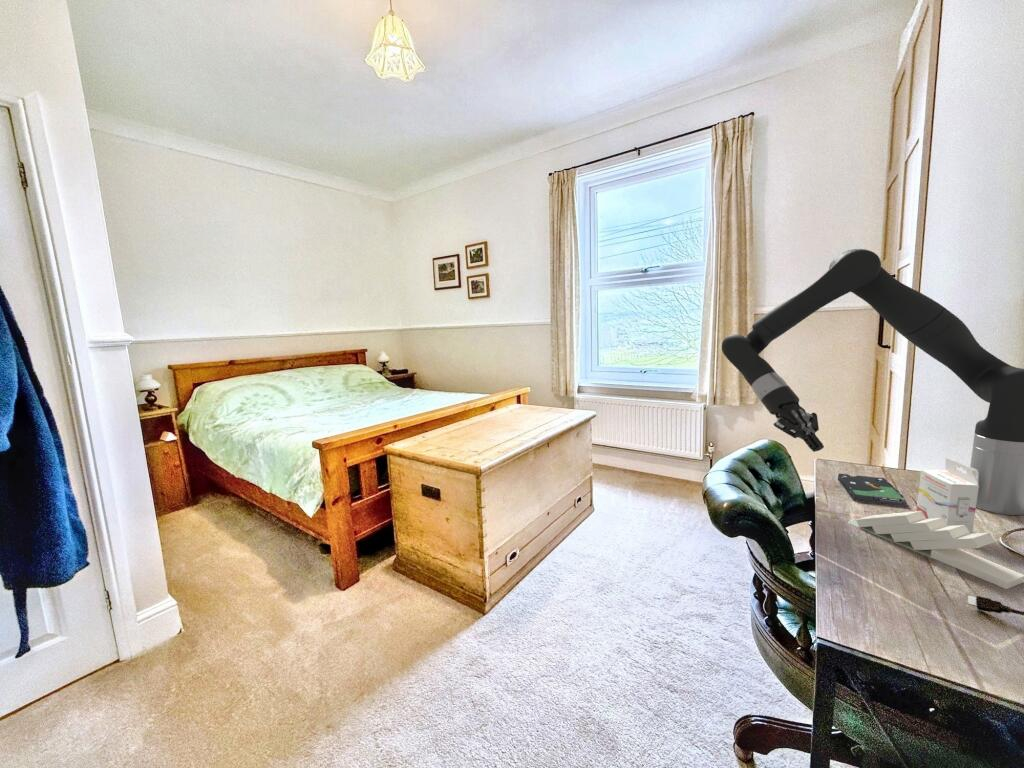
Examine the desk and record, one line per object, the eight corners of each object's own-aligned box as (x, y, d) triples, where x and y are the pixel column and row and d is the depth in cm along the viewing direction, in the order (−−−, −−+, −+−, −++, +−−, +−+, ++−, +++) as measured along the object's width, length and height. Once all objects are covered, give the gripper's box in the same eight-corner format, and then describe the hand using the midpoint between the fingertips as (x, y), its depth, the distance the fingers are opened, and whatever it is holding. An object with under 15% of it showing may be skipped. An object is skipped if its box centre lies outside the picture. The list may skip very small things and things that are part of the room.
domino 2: (887, 522, 87) (942, 517, 79) (891, 529, 87) (947, 526, 78) (872, 526, 86) (925, 522, 77) (876, 534, 85) (930, 531, 77)
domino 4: (926, 536, 81) (989, 532, 73) (930, 544, 81) (995, 542, 72) (909, 541, 80) (972, 538, 71) (914, 550, 79) (978, 548, 70)
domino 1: (871, 515, 91) (921, 510, 82) (874, 523, 90) (926, 519, 81) (855, 519, 89) (905, 515, 80) (859, 527, 89) (909, 523, 80)
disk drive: (836, 482, 114) (853, 504, 101) (837, 473, 114) (853, 493, 100) (883, 487, 109) (907, 510, 96) (884, 477, 109) (909, 499, 96)
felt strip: (862, 519, 92) (862, 517, 92) (949, 554, 78) (949, 552, 78) (846, 524, 91) (846, 522, 91) (932, 560, 77) (932, 558, 77)
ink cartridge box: (913, 517, 92) (920, 456, 90) (939, 518, 91) (947, 456, 89) (944, 536, 84) (953, 470, 82) (973, 538, 83) (983, 470, 81)
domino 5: (948, 543, 78) (1025, 575, 69) (946, 551, 79) (1023, 584, 69) (931, 549, 77) (1008, 582, 67) (930, 556, 77) (1006, 591, 68)
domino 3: (906, 529, 84) (964, 524, 76) (910, 537, 84) (970, 533, 75) (890, 533, 83) (948, 530, 74) (894, 542, 82) (953, 539, 74)
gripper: (764, 387, 103) (810, 446, 93) (802, 382, 107) (850, 437, 97) (746, 404, 109) (788, 461, 99) (783, 398, 112) (826, 452, 103)
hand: (819, 449), depth 98 cm, fingers closed
